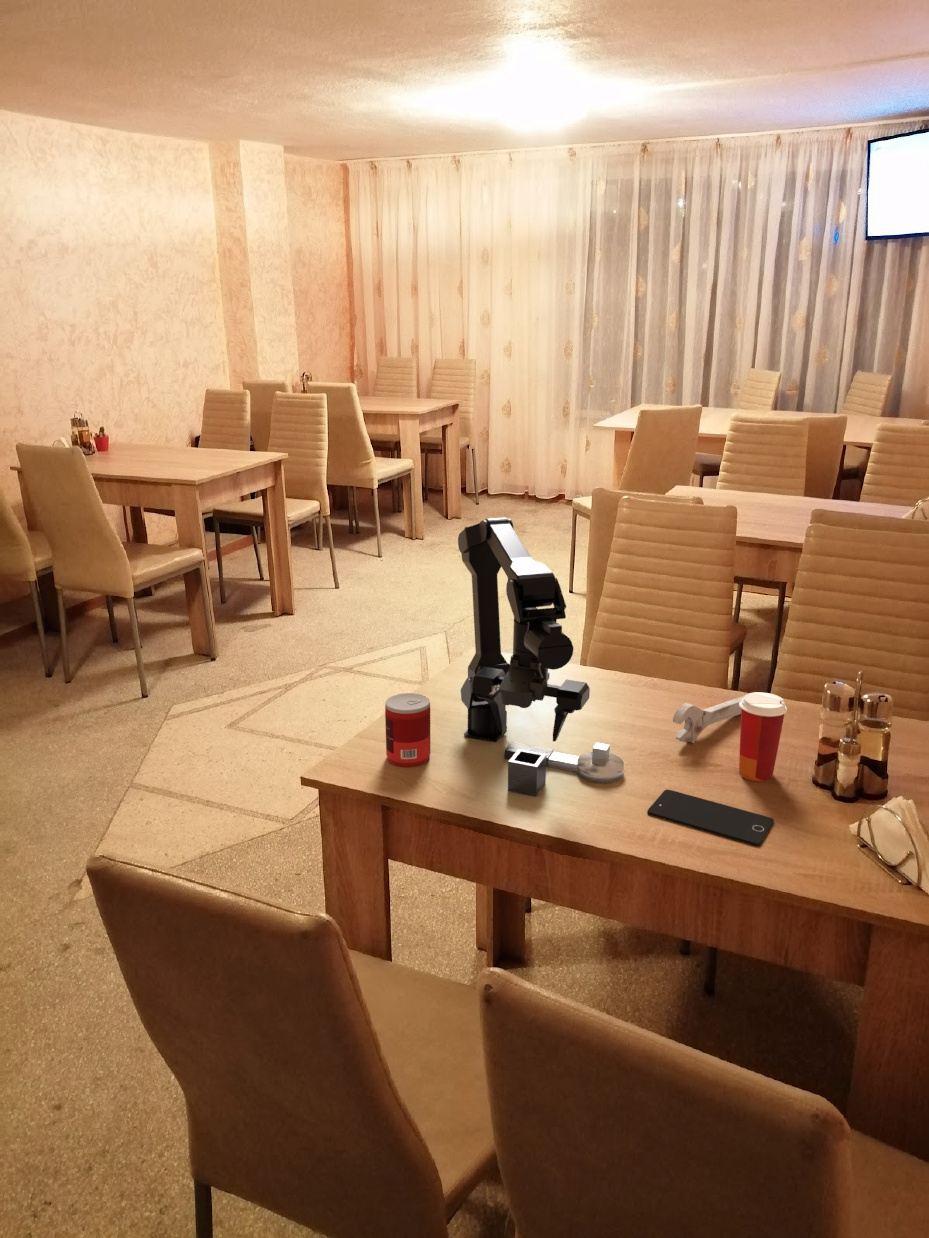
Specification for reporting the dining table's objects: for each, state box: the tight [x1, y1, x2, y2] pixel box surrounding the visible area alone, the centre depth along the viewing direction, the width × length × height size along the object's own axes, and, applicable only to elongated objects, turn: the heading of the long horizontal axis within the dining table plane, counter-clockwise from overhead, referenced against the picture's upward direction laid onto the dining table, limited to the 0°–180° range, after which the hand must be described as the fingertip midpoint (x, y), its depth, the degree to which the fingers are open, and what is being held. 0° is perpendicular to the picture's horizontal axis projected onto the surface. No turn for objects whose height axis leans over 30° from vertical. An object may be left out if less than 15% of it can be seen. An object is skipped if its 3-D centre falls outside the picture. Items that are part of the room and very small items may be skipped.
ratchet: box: [503, 741, 625, 784], centre depth 166 cm, size 21×8×5 cm, turn 68°
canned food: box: [384, 692, 431, 768], centre depth 167 cm, size 8×8×11 cm
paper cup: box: [738, 691, 788, 783], centre depth 162 cm, size 8×8×14 cm
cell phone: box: [646, 788, 775, 848], centre depth 150 cm, size 9×18×1 cm, turn 58°
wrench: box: [672, 694, 746, 744], centre depth 181 cm, size 8×2×30 cm
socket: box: [507, 749, 547, 798], centre depth 158 cm, size 5×5×6 cm
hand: (528, 735), depth 156 cm, fingers open, 9 cm apart
